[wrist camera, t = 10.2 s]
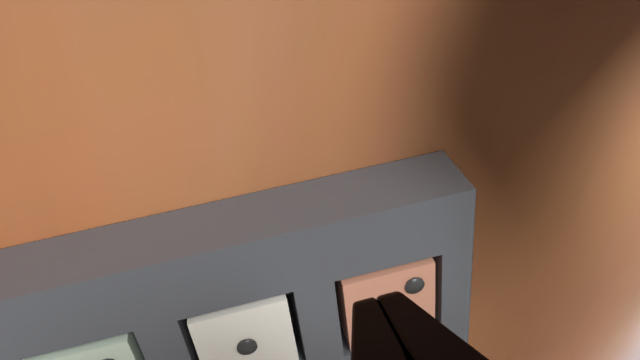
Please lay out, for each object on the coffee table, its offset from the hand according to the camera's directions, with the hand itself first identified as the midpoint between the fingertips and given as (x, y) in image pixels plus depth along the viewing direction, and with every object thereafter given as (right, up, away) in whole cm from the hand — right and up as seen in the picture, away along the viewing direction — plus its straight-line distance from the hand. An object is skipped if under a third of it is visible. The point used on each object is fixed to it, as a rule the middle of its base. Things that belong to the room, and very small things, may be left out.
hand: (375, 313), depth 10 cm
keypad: (-5, -3, +15) cm, 16 cm away
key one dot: (-4, -3, +14) cm, 15 cm away
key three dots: (+1, -2, +15) cm, 15 cm away
